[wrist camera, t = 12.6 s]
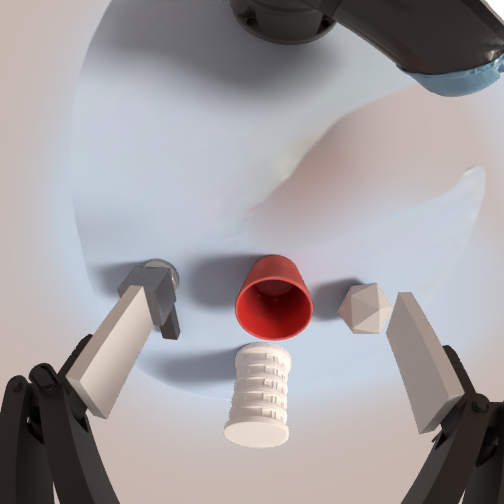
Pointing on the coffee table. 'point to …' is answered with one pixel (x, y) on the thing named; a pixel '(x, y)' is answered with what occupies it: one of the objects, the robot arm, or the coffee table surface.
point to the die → (365, 309)
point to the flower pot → (274, 300)
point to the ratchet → (171, 324)
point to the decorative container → (259, 397)
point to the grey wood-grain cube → (153, 290)
